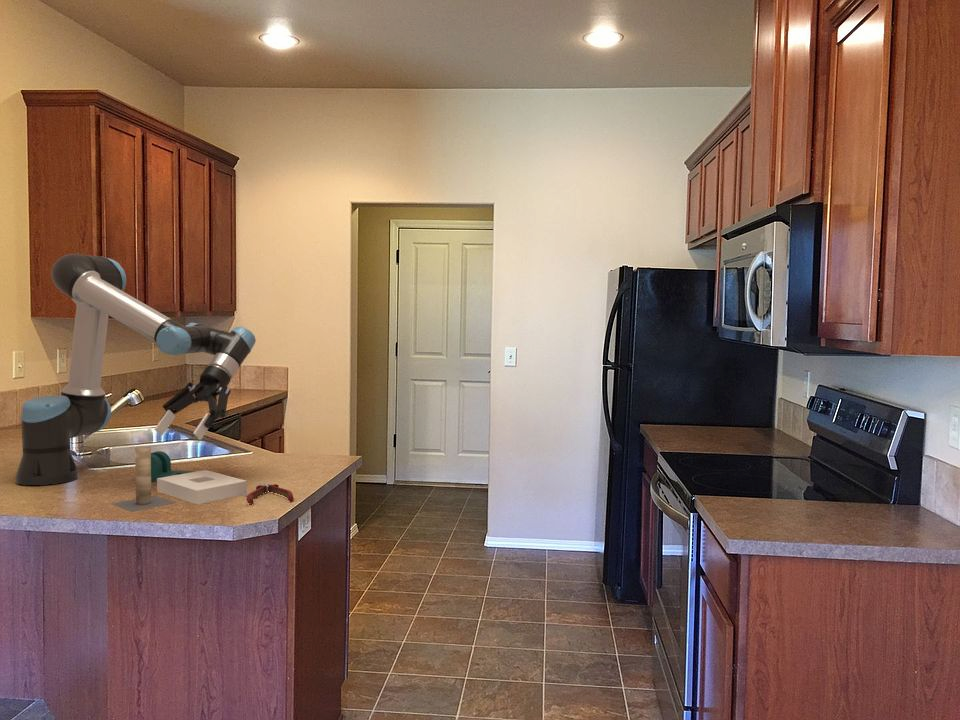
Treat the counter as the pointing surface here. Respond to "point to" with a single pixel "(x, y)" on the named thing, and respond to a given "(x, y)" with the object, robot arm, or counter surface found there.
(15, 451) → the counter surface
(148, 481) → the peg
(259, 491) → the pliers
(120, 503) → the mat
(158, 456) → the bracket
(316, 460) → the counter surface
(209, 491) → the hole block
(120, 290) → the robot arm
